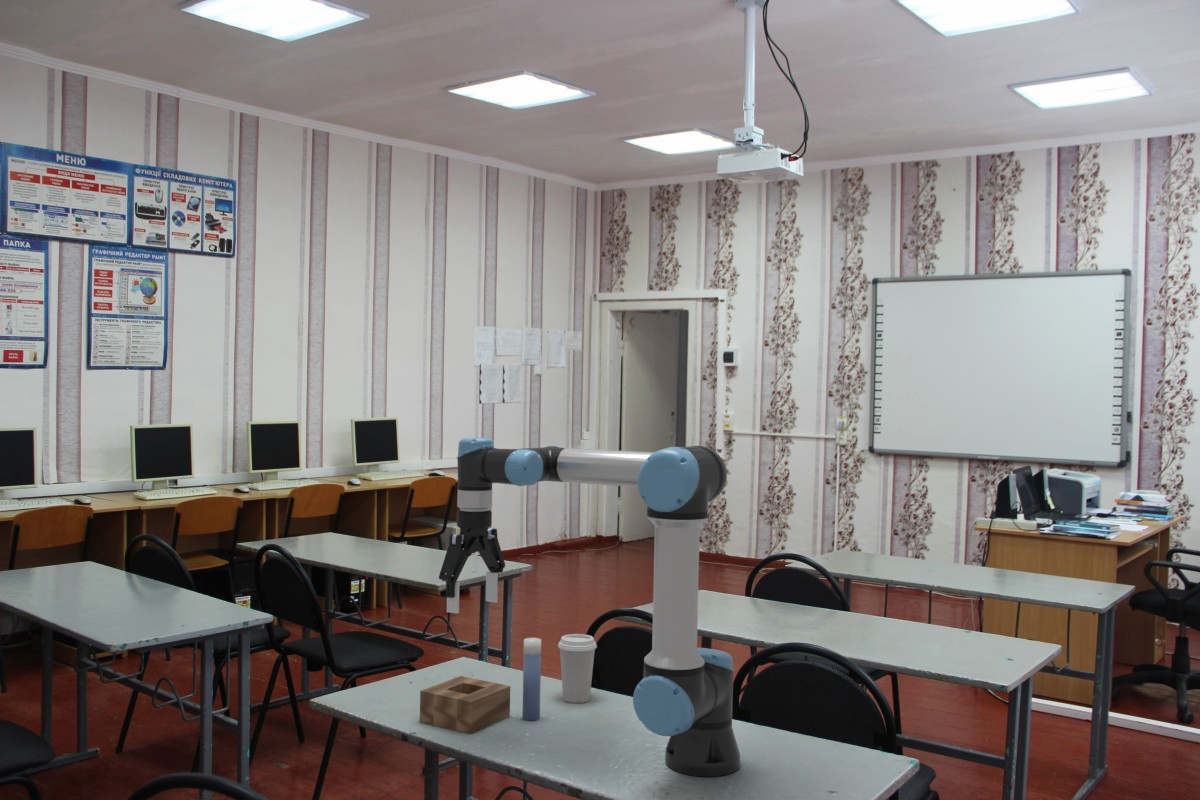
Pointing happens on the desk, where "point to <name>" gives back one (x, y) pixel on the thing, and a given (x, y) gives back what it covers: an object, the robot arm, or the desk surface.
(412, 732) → the desk surface
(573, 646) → the coffee cup
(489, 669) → the desk surface
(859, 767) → the desk surface
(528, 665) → the marker
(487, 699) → the socket block
